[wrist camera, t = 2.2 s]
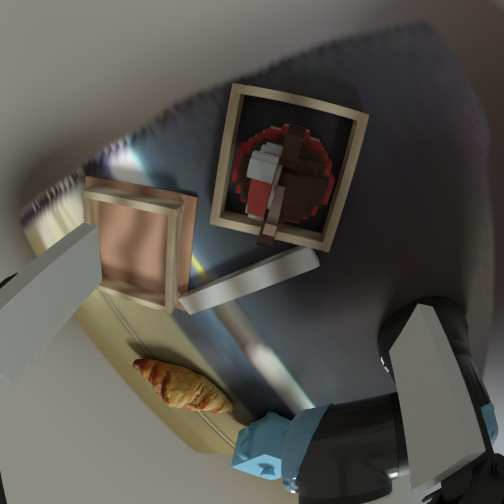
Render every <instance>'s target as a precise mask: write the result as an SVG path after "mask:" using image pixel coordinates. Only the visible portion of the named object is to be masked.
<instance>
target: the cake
mask: <svg viewBox="0 0 504 504" xmlns="http://www.w3.org/2000/svg"><path fill="white" fill-rule="evenodd" d="M309 131H310V130H308V129H306V128H304V127H301V126H297V125H294V124H287V123H285V124H284V125H283V126H282V128H279V127H275V126H271V127H270V128H267V129H266V130H263V132H260V133H258V134H256V135H255V137H251V138H250V139H248V142H245V141H244V142H243V143H241V147H240V148H239V151H238V153H237V157H236V161H235V166H234V170H233V175H232V181H233V182H234V183H236V184H237V188H236V193H238V194H240V199H241V201H243V202H245V203H246V204H245V208H246V210H245V211H246V212H245V213H247V214H248V215H249V216H248V217H249V218H253V219H257V220H260V221H263V222H262V225H261V229H260V233H259V236H258V240H257V244H256V245H260V246H263V247H267V248H270V249H271V247H272V245H273V242H274V239H275V235H276V232H277V229H278V225H281V226H285V222H286V221H290V222H293V223H297V224H299V223H301V219H306V220H307V218H308V219H309V218H310V215H315V216H316V213H317V210H318V207H319V208H321V205H322V204H324V205H327V202H328V200H329V197H330V194H331V191H332V188H333V185H334V182H335V178H334V175H333V173H331V172H330V171H331V168H332V165H333V163H332V161H331V159H329V158H328V156H329V155H328V154H327V152H326V151H325V150H324V147H323V145H322V143H321V142H320V139H317V138H314V137H310V136H311V134H310V132H309Z"/></svg>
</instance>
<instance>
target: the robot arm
mask: <svg viewBox="0 0 504 504" xmlns="http://www.w3.org/2000/svg"><path fill="white" fill-rule="evenodd" d="M101 282H102V273H101V263H100V253H99V240H98V226H94V225H90V224H86V223H83V224H81V225H80V226H78V227H77V228H76V229H74V230H73V231H71V232H70V233H69V234H67V235H66V236H65V237H63V238H62V239H61V240H59V241H58V242H57V243H55V244H54V245H53V246H51V247H50V248H49V249H48V250H46V251H45V252H44V253H42V254H41V255H40V256H39V257H37V258H36V259H35V260H34V261H33V262H31V263H30V264H29V265H28V266H26V267H25V268H24V269H23V270H22V271H21V272H19V273H16V274H14V275H12V276H10V277H8V278H6V279H5V280H3V281H2V282H1V283H0V378H2V379H3V380H4V381H6V382H7V383H8V384H10V385H11V386H13V387H15V386H16V384H17V383H18V382H19V381H20V379H21V378H22V376H23V375H24V374H25V372H26V371H27V370H28V369H29V367H30V366H31V365H32V363H33V362H34V361H35V359H36V358H37V357H38V355H39V354H40V353H41V352H42V351H43V349H44V348H45V347H46V346H47V344H48V343H49V342H50V341H51V339H52V338H53V337H54V336H55V335H56V333H57V332H58V331H59V330H60V328H61V327H62V326H63V325H64V324H65V323H66V321H67V320H68V319H69V318H70V317H71V316H72V315H73V313H74V312H75V311H76V310H77V309H78V308H79V307H80V305H81V304H82V303H83V302H84V301H85V300H86V299H87V298H88V297H89V295H90V294H91V293H92V292H93V291H94V290H95V289H96V288H97V287H98V286H99V284H100V283H101ZM378 352H379V357H380V360H381V363H382V365H383V366H384V368H385V369H386V370H387V371H388V372H389V373H390V375H391V377H392V379H393V381H394V382H395V384H396V386H397V391H398V392H394V393H390V394H385V395H381V396H376V397H372V398H367V399H362V400H357V401H352V402H347V403H341V404H335V405H333V404H332V403H331V404H327V405H326V406H322V407H317V408H312V409H306V410H303V411H301V412H300V413H298V414H297V415H296V416H295V417H294V419H293V420H292V422H291V424H290V426H289V428H288V431H287V434H286V437H285V441H284V446H283V451H282V460H281V477H282V479H283V486H284V488H285V489H286V490H288V491H290V492H292V493H297V492H298V495H299V504H383V502H385V501H386V499H387V498H388V497H389V496H390V495H391V494H392V480H394V479H397V478H402V477H406V476H410V481H411V491H413V490H421V489H429V488H431V487H432V486H434V485H436V484H437V483H439V482H441V487H442V488H440V489H438V490H437V491H435V492H433V493H431V494H429V495H427V496H426V497H425V498H424V499H423V500H422V501H423V502H425V501H427V500H429V499H431V498H432V500H431V501H430V502H428V503H427V504H504V456H503V455H501V454H499V453H494V451H493V448H492V445H493V444H494V442H495V440H496V438H497V435H498V425H497V421H496V417H495V413H494V406H493V404H492V403H491V400H490V398H489V395H488V393H487V390H486V388H485V385H484V383H483V380H482V378H481V376H480V373H479V371H478V369H477V366H476V364H475V362H474V360H473V357H472V355H471V353H470V345H469V339H468V323H467V319H466V317H465V315H464V313H463V312H462V310H461V308H460V307H459V305H458V304H457V303H456V302H454V301H452V300H450V299H448V298H444V297H429V298H424V299H421V300H418V301H415V302H413V303H411V304H409V305H407V306H405V307H404V308H402V309H401V310H399V311H398V312H397V313H395V314H394V315H393V316H392V317H391V318H390V319H389V320H388V321H387V323H386V324H385V325H384V327H383V329H382V330H381V333H380V335H379V338H378ZM0 504H7V501H6V497H5V493H4V489H3V484H2V479H1V473H0Z"/></svg>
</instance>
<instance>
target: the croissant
mask: <svg viewBox="0 0 504 504" xmlns="http://www.w3.org/2000/svg"><path fill="white" fill-rule="evenodd" d="M133 367H134V369H136V370H138V371H140V372H141V375H142V377H143V378H144V379H145V380H148V381H149V382H150V383H151V384H152V386H153V388H154V390H155V391H156V393H157V394H159V395H161V396H162V398H163V400H164V402H165V403H166V404H167V405H169V406H170V407H176V408H181V407H184V408H187V409H190V410H194V411H201V410H205V411H209V412H213V413H217V412H226V413H230V412H232V410H233V405H232V403H231V402H230V401H229V400H228V399H227V397H226V396H225V394H224V393H223V392H222V391H220V390H219V389H218V388H217V387H216V386H215V385H214V384H213V383H211V382H210V381H209V380H208V379H207V378H205V376H204V375H200V374H196V373H195V372H193V371H192V370H189V369H187V368H184V367H181V366H177V365H172V364H168V363H164V362H161V361H157V360H153V359H136V360H135V361H134V363H133Z"/></svg>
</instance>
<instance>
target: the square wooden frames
mask: <svg viewBox="0 0 504 504" xmlns="http://www.w3.org/2000/svg"><path fill="white" fill-rule="evenodd" d="M245 95H251V96H257V97H262V98H268V99H273V100H278V101H283V102H287V103H292V104H296V105H301V106H305V107H309V108H313V109H317V110H321V111H325V112H328V113H332V114H336V115H339V116H343V117H346V118H350V119H353V124H352V128H351V132H350V136H349V140H348V144H347V148H346V152H345V155H344V159H343V163H342V167H341V170H340V174H339V177H338V181H337V184H336V188H335V191H334V195H333V198H332V202H331V205H330V208H329V212H328V215H327V218H326V222H325V225H324V228H323V231H322V234H321V233H318V232H314V231H310V230H306V229H302V228H298V227H293V226H289V225H285V226H281V225H278V229H277V232H276V235H275V239H276V240H280V241H284V242H288V243H293V244H297V245H298V246H296V247H293V248H291V249H289V250H286V251H284V252H281V253H279V254H277V255H274V256H272V257H269V258H267V259H264V260H262V261H260V262H257V263H255V264H252V265H250V266H248V267H245V268H243V269H240V270H238V271H235V272H233V273H230V274H228V275H226V276H223V277H221V278H218V279H216V280H213V281H211V282H208V283H206V284H204V285H201V286H199V287H196V288H194V289H191V290H189V279H190V268H191V257H192V246H193V236H194V227H195V218H196V209H197V201H198V197H197V196H192V195H188V194H183V193H178V192H173V191H168V190H163V189H158V188H153V187H148V186H142V185H137V184H132V183H126V182H121V181H115V180H110V179H104V178H98V177H92V176H86V189H84V190H83V204H84V222H85V223H86V224H90V225H94V226H98V240H99V253H100V263H101V273H102V282H101V283H100V284H99V286H98V287H97V288H96V289H97V290H100V291H103V292H106V293H109V294H111V295H114V296H117V297H120V298H123V299H126V300H129V301H132V302H135V303H138V304H141V305H145V306H148V307H151V308H154V309H157V310H160V311H164V312H167V313H170V314H172V312H173V310H174V308H177V309H181V310H184V311H187V312H188V313H189V314H190V315H191V314H194V313H196V312H199V311H202V310H205V309H208V308H211V307H213V306H216V305H219V304H222V303H225V302H227V301H230V300H233V299H236V298H238V297H241V296H244V295H246V294H249V293H252V292H255V291H257V290H260V289H263V288H265V287H268V286H271V285H273V284H276V283H279V282H281V281H284V280H286V279H289V278H292V277H294V276H297V275H299V274H302V273H304V272H307V271H310V270H312V269H315V268H317V267H320V265H319V259H318V257H317V255H316V253H315V251H314V249H317V250H321V251H325V252H329V250H330V247H331V244H332V241H333V238H334V235H335V232H336V229H337V226H338V223H339V220H340V217H341V214H342V210H343V207H344V204H345V201H346V197H347V194H348V191H349V187H350V184H351V181H352V177H353V174H354V170H355V167H356V163H357V160H358V156H359V152H360V149H361V145H362V141H363V138H364V134H365V130H366V126H367V122H368V118H369V115H368V114H365V113H362V112H359V111H356V110H352V109H349V108H346V107H342V106H339V105H335V104H331V103H328V102H324V101H320V100H316V99H312V98H308V97H304V96H300V95H295V94H291V93H286V92H281V91H276V90H271V89H266V88H260V87H254V86H248V85H242V84H235V83H232V89H231V94H230V99H229V105H228V110H227V116H226V122H225V127H224V133H223V139H222V145H221V151H220V158H219V164H218V170H217V177H216V183H215V190H214V197H213V204H212V211H211V218H210V224H213V225H217V226H221V227H226V228H230V229H234V230H238V231H243V232H247V233H251V234H255V235H259V233H260V229H261V225H262V222H263V221H260V220H257V219H253V218H249V217H248V216H247V215H243V214H239V213H234V212H230V211H225V204H226V198H227V192H228V186H229V180H230V174H231V168H232V162H233V156H234V151H235V145H236V139H237V134H238V128H239V123H240V118H241V112H242V107H243V102H244V96H245Z"/></svg>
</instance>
